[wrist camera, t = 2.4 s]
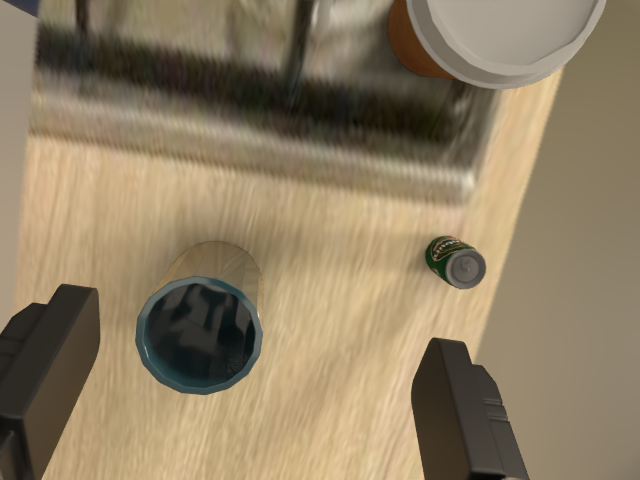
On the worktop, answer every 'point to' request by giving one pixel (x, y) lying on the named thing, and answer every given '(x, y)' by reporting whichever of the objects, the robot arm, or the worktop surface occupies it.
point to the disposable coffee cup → (490, 38)
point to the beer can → (456, 262)
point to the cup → (204, 320)
